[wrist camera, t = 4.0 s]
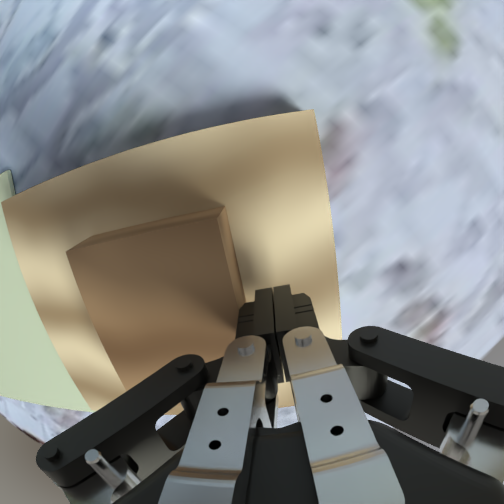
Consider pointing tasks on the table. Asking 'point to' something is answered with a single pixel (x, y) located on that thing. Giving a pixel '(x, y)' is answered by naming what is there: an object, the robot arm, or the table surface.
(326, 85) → the table surface
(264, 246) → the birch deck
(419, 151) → the table surface
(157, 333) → the walnut slab
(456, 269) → the table surface
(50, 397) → the sage mat
